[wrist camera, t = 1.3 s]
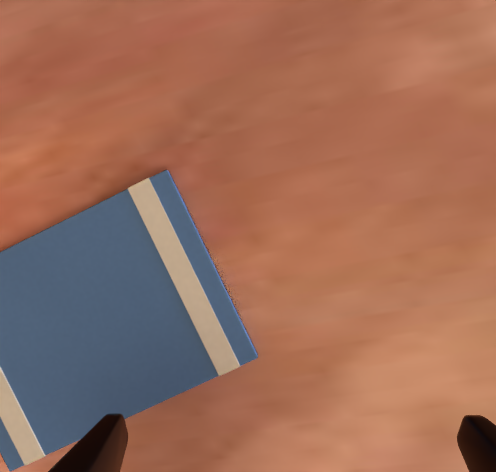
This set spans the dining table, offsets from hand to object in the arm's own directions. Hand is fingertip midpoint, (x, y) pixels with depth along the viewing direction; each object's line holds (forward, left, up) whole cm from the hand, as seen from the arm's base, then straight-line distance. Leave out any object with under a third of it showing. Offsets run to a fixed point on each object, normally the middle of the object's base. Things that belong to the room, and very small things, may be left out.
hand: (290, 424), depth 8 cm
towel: (-13, +7, -16) cm, 21 cm away
